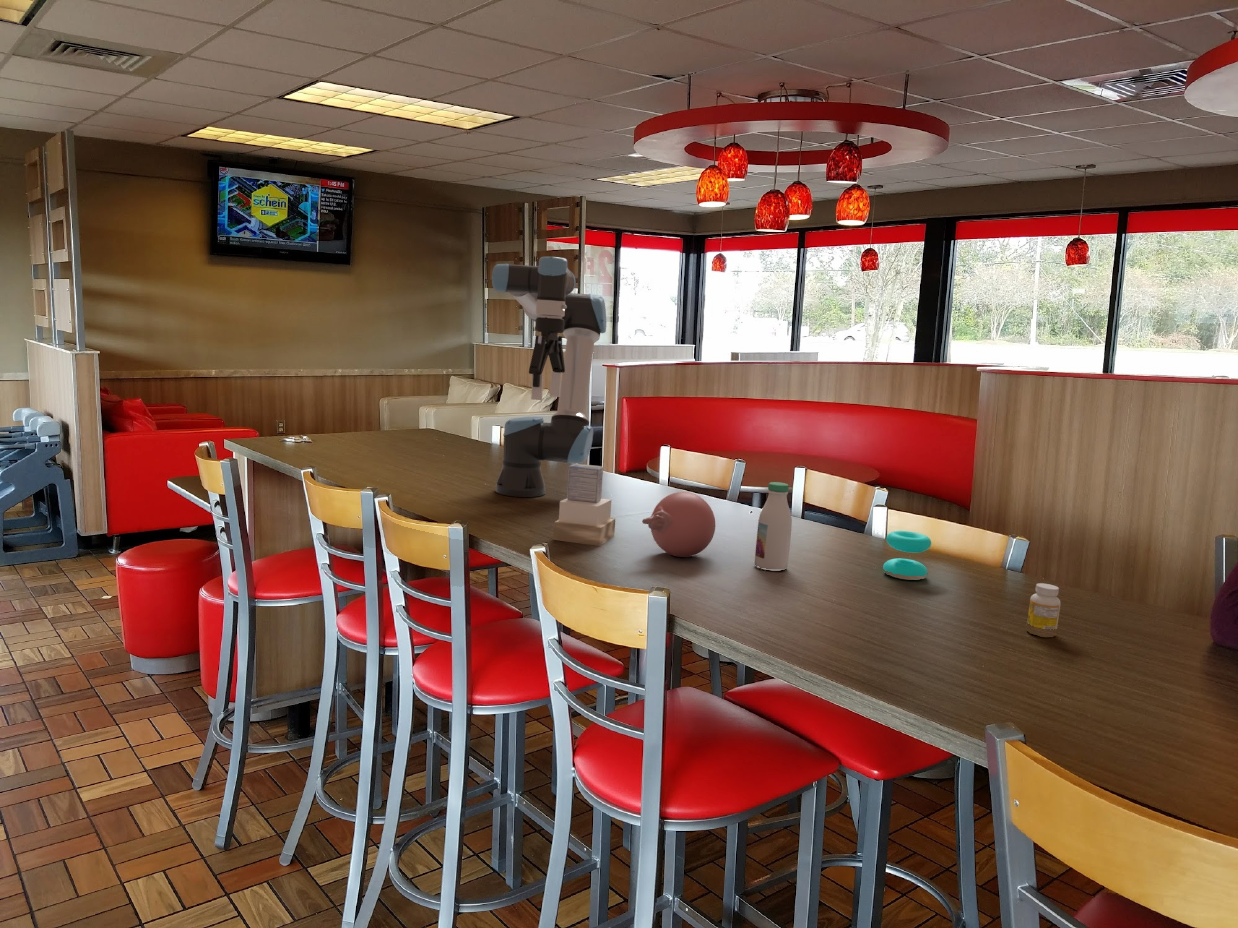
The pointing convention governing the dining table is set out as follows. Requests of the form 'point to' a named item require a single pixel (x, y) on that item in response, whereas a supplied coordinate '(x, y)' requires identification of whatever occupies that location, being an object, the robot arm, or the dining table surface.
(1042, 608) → the supplement bottle
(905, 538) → the donuts
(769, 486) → the milk bottle
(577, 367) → the robot arm
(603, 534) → the birch base block
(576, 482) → the medicine box
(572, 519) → the off-white top block
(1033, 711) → the dining table surface
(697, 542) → the round balloon
